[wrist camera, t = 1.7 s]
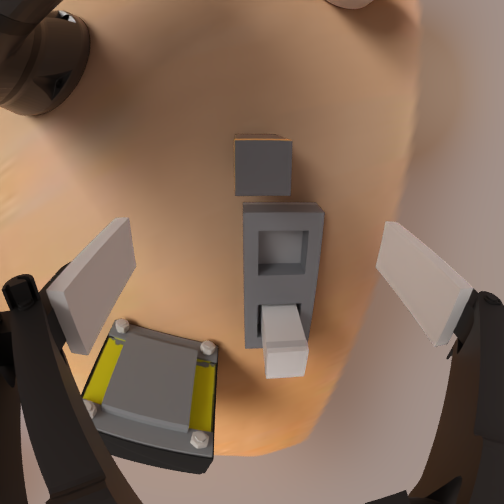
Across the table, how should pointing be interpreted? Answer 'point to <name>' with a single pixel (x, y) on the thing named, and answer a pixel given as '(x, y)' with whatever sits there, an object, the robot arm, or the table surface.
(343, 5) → the mug
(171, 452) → the electrical component
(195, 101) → the table surface
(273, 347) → the white rectangular block
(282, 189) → the plug
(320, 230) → the pdu strip
